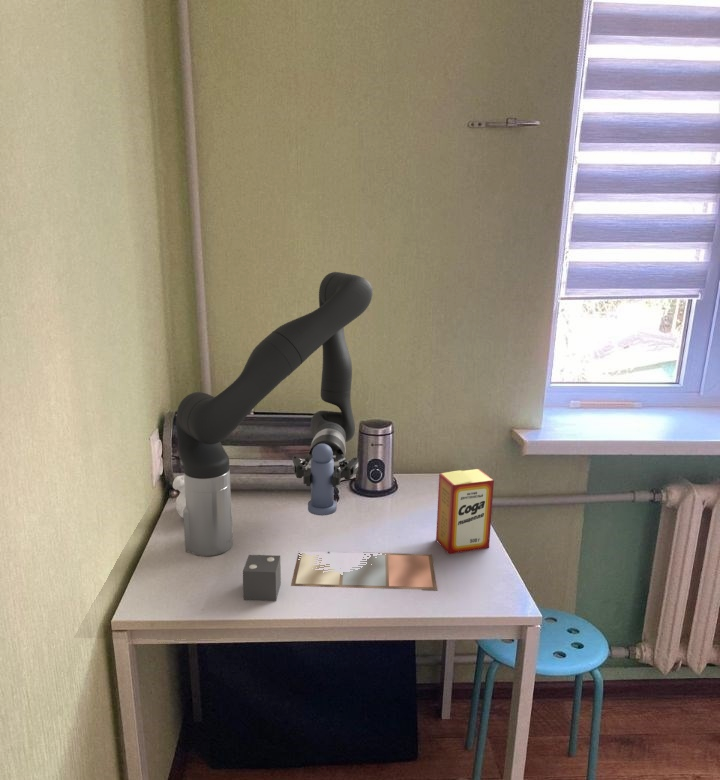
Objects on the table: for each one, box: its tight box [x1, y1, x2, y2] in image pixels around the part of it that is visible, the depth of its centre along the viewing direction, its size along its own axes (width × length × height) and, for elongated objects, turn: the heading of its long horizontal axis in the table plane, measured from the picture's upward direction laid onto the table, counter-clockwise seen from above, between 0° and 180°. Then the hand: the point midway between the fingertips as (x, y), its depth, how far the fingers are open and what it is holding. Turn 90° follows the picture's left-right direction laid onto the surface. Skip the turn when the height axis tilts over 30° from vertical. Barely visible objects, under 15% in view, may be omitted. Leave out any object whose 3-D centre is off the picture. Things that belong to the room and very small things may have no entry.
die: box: [242, 554, 282, 602], centre depth 124 cm, size 6×6×6 cm
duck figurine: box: [172, 474, 186, 519], centre depth 154 cm, size 12×8×11 cm
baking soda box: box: [435, 468, 495, 555], centre depth 142 cm, size 10×6×16 cm
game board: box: [290, 552, 438, 591], centre depth 133 cm, size 28×14×1 cm, turn 89°
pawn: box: [307, 444, 338, 517], centre depth 129 cm, size 6×6×14 cm
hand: (321, 482), depth 126 cm, fingers closed on pawn, 4 cm apart
